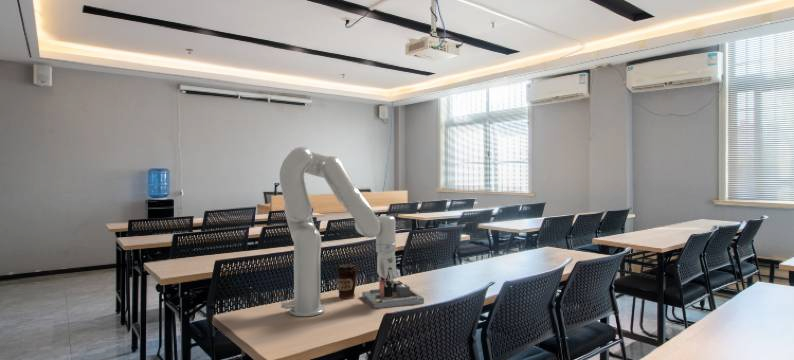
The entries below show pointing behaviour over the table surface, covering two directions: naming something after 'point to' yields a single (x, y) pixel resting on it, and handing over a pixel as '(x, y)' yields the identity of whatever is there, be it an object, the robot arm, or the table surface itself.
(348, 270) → the coffee cup
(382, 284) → the cap
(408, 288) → the toggle
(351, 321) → the table surface
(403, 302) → the breaker panel
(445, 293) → the table surface
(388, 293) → the robot arm
